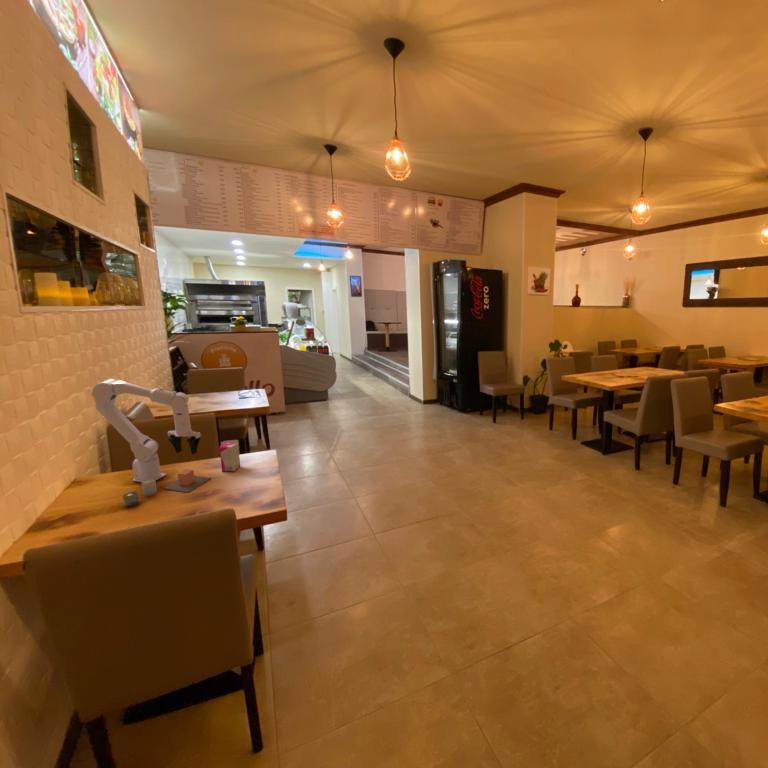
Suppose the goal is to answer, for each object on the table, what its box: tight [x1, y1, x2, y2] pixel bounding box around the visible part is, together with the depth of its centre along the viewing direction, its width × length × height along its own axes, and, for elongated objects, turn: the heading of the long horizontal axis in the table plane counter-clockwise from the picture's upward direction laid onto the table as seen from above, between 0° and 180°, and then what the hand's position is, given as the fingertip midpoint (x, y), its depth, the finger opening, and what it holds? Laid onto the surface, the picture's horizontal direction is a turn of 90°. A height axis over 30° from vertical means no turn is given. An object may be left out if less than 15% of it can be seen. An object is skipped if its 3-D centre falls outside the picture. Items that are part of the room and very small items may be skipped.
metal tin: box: [122, 490, 140, 508], centre depth 131 cm, size 4×4×4 cm
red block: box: [177, 468, 195, 486], centre depth 145 cm, size 4×4×5 cm
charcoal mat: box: [163, 475, 212, 494], centre depth 146 cm, size 12×12×1 cm
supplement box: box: [219, 442, 241, 473], centre depth 158 cm, size 6×6×12 cm
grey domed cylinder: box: [141, 479, 158, 497], centre depth 139 cm, size 4×4×5 cm
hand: (186, 452), depth 154 cm, fingers open, 7 cm apart
